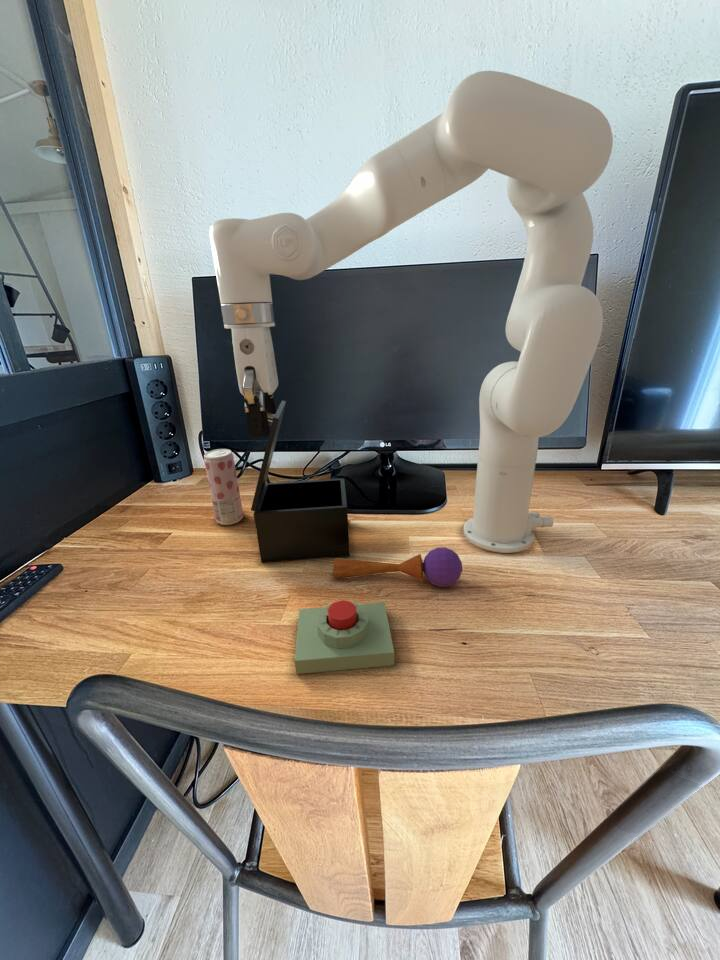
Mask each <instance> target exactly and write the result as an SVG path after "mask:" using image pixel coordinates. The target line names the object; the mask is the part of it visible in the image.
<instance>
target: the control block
mask: <svg viewBox="0 0 720 960" xmlns="http://www.w3.org/2000/svg"><path fill="white" fill-rule="evenodd" d="M348 601H349V602H352V603H353V604H354V605H355V607H356V615H357V621H356V624H355V625H354V626H353V627H352V628H350V629H348V630H340V631H339V630H336V629H333V628H332V627H331V626H330V624H329V618H328V608H329V607H330V605H331V604H333V603H334V602H332V603H330V604H328V605H326V606H322V607H309V608H299V609H298V619H297V628H296V629H297V630H296V640H295V652H294V666H295V667H294V669H295V674H296V675H304V674H313V673H314V674H315V673H325V672H335V671H347V670H358V669H370V668H381V667H390V666H395V649H394V642H393V639H392V633H391V628H390V622H389V618H388V613H387V612H388V611H387V607H386V603H385V601H383V602H370V603H357V602H353V601H350V600H348Z"/></svg>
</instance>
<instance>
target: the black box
mask: <svg viewBox="0 0 720 960" xmlns="http://www.w3.org/2000/svg"><path fill="white" fill-rule="evenodd" d="M346 492H347V491H346V483H345V478H328V479H317V480H316V479H314V480H312V479H311V480H299V481H281V482H266V483H265V486H264V489H263V492H262V495H261V497H260V500H259V503H258V506H257V509H256V511H253V519H254V526H255V532H256V538H257V543H258V550H259V557H260V562H261V563H262V564H264V563H277V562H288V561H289V562H292V561H302V560H305V561H306V560H315V559H316V560H318V559H319V560H320V559H330V558H345V557H350V556H351V551H350V533H349V532H350V531H349V517H348V516H349V515H348V513H349V512H348V502H347V493H346Z"/></svg>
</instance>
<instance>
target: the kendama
mask: <svg viewBox="0 0 720 960" xmlns="http://www.w3.org/2000/svg"><path fill="white" fill-rule="evenodd" d="M395 572H400V573H401V574H402V573H403V574H404V575H407V576H409V577H411V578H413V579H415V580H418V581H420V582H423V576H425V579H426V580H427V581H428V582H429V583H431V584H432V585H434V586H437V587H438V588H445V587H449V586H453V585H455V584H456V583H457V582H458V580H459V579H460V578H461V576H462V572H463V562H462V560H461V558H460V556H459V555H458V554H457V553H456V552H455V551H454V550H453V549H451V548H448V547H444V546H443V547H441V546H440V547H435V548H433V549H431V550H430V551H429V552H428V553H427V554H426V555H425V556H424V559H422V553H419V554H416V555H415V556H414V555H413V556H412V557H411V558H408V559H405V560H404V561H402V562H400V563H390V562H382V561H381V562H380V561H372V560H371V561H369V560H361V559H359V560H358V559H347V558H340V557H335V558H334V561H333V577H334V579H335V580H340V579H347V578H348V579H349V578H355V577H364V576H371V575H379V574H387V573H395Z"/></svg>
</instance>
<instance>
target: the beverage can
mask: <svg viewBox="0 0 720 960" xmlns="http://www.w3.org/2000/svg"><path fill="white" fill-rule="evenodd" d="M203 458H204V459H203V462H204V467H205V472H206V477H207V482H208V488H209V492H210V497H211V498H210V499H211V502H212V507H213V513H214V518H215V521H216V523H217V524H219V525H222V526H230V525H234V524H237V523H239V522H240V521H242V520H243V518H244V510H243V504H242V499H241V494H240V487H239V481H238V476H237V469H236V465H235V458H234V455H233V452H232V450H231V449H228V448H216V449H212V450H209V451H206V452H205V453H204V455H203Z"/></svg>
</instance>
